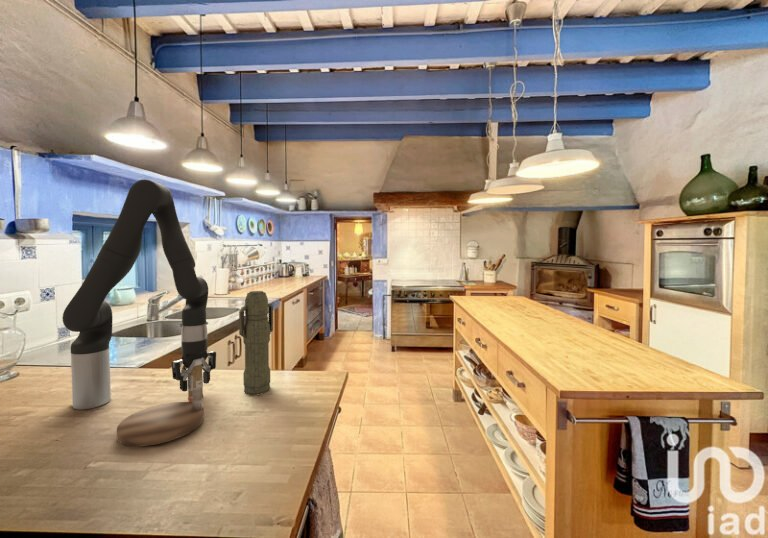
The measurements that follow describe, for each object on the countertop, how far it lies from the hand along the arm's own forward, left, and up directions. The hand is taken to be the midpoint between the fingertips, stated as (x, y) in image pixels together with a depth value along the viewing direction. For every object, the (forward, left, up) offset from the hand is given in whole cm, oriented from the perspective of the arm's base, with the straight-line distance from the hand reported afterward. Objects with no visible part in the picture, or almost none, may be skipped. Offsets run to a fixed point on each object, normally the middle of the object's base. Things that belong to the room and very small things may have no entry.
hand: (195, 386), depth 113 cm
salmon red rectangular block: (+7, -5, -4) cm, 9 cm away
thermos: (+12, +15, -4) cm, 20 cm away
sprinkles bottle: (0, 0, -4) cm, 4 cm away
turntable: (+11, -16, -4) cm, 20 cm away
